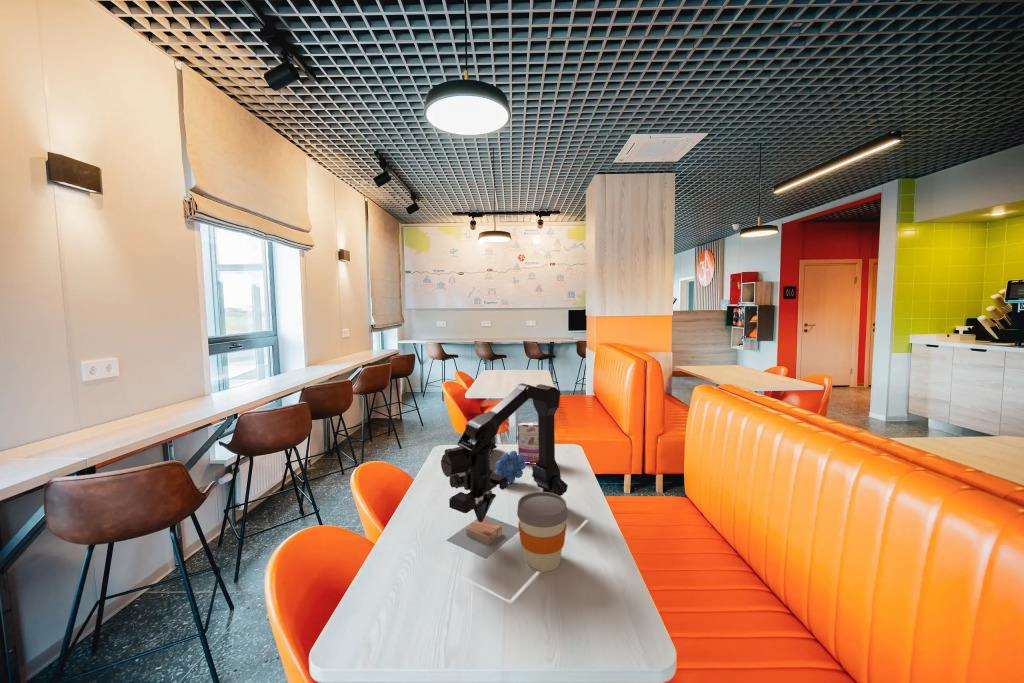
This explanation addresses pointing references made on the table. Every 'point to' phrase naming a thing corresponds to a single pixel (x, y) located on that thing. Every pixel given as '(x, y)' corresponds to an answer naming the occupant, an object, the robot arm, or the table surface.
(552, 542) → the reusable coffee cup
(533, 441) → the candy bar box
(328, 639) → the table surface
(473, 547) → the slate mat
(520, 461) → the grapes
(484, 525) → the maple tile
